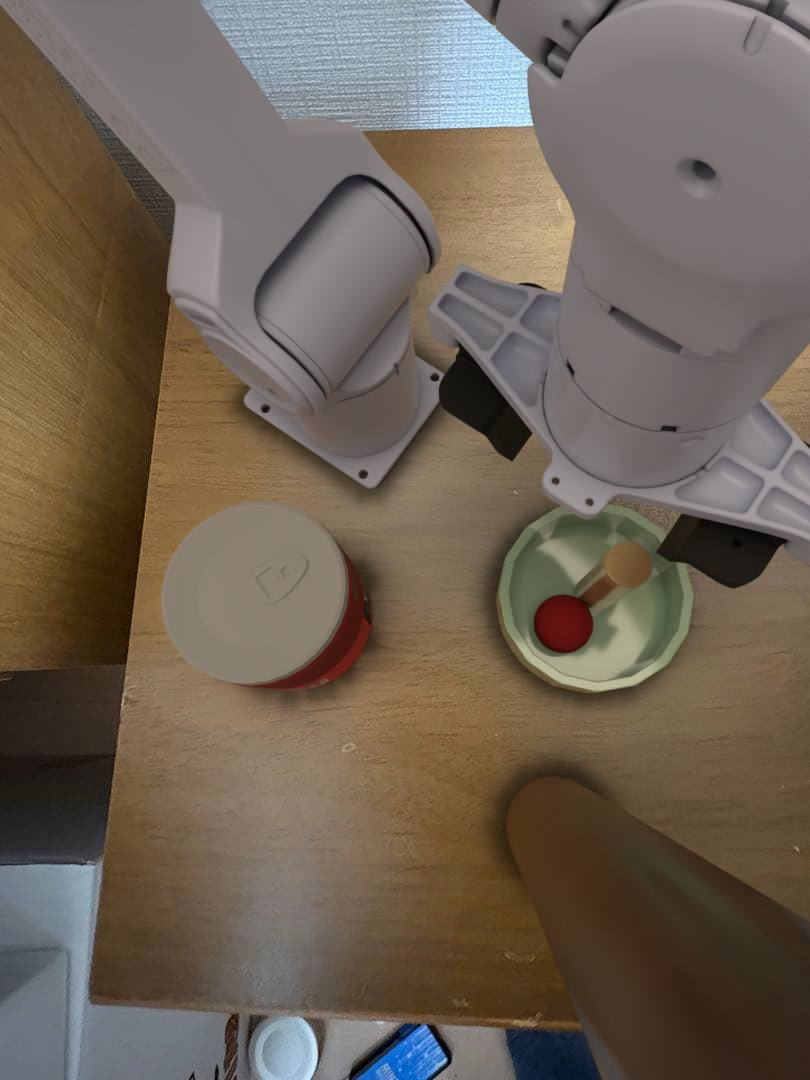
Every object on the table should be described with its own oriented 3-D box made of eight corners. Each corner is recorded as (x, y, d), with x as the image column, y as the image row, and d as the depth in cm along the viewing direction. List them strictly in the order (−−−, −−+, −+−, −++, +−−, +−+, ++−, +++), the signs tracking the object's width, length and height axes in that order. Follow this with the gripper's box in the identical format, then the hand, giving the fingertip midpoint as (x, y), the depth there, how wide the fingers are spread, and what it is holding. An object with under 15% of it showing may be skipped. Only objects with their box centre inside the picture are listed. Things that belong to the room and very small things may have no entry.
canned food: (403, 608, 43) (385, 574, 32) (306, 723, 42) (255, 727, 31) (299, 522, 44) (249, 461, 34) (204, 631, 43) (120, 605, 33)
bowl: (462, 624, 43) (463, 617, 39) (558, 486, 44) (567, 467, 40) (611, 728, 41) (625, 729, 38) (706, 581, 42) (728, 570, 39)
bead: (519, 649, 41) (537, 620, 38) (534, 604, 42) (552, 574, 40) (573, 672, 40) (595, 645, 38) (586, 626, 42) (607, 597, 40)
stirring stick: (566, 597, 42) (595, 567, 33) (589, 568, 42) (623, 531, 34) (597, 621, 42) (634, 597, 33) (619, 591, 42) (662, 560, 33)
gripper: (350, 308, 21) (400, 470, 34) (857, 620, 18) (697, 666, 31) (500, 115, 22) (493, 345, 35) (1005, 380, 19) (789, 523, 32)
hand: (595, 487), depth 33 cm, fingers open, 7 cm apart
